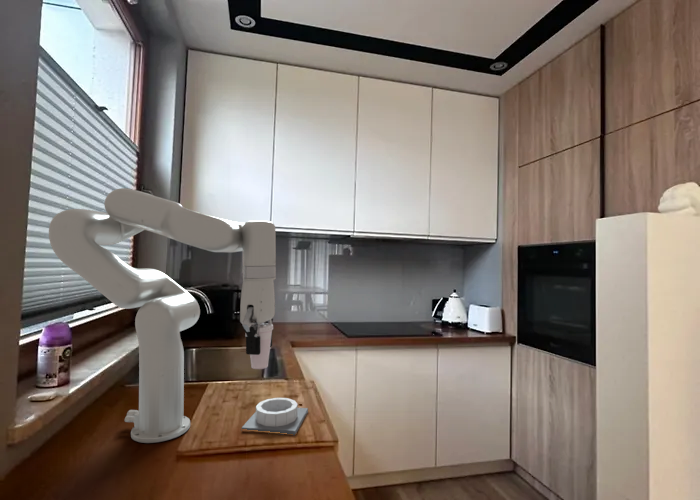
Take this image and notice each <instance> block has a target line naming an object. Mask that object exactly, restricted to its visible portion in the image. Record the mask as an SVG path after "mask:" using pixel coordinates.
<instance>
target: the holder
mask: <svg viewBox="0 0 700 500" xmlns="http://www.w3.org/2000/svg"><path fill="white" fill-rule="evenodd" d="M308 413H309V408H308V407H298V402H296V400H295V399H291V398H287V397H273V398H267V399H264V400H261V401H260V402H258V403H257V405H256V406H255V412H254V413H253V414H252V415H251V416H250V417H249V418H248V420H247V421H246V422H245V423H244V424H243V425H242V426H241V430H242V429H247V430H258V431H270V432H280V433H287V434H293V435H292V436H296V435H295V434H297V433H298V431H299V430H300V427H301V426H302V424H303V421H304V420H305V419H306V417H307V414H308Z"/></svg>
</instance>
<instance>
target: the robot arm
mask: <svg viewBox="0 0 700 500" xmlns="http://www.w3.org/2000/svg"><path fill="white" fill-rule="evenodd" d="M104 209H105V211H106V212H104V211H97V210H91V209H84V208H71V209H66V210H62V211H60V212H58V213H57V214H55V216H53V217H52V219H51V221H50V223H49V227H48V239H49V243H50V246H51V249H52V250H53V252H54V254H55V256H56V257H57V258H58V259H59V260H60V261H61V262H62V263H63V264H64V265H65V266H66V267H68V268H69V269H71V270H72V271H73V272H75V273H76V274H77V275H78V276H79V277H81V278H83V280H85V281H86V282H88V283H89V285H90V286H92V287H93V288H94V289H95V290H96V291H98V292H99V293H100V294H102V295H103V296H104V297H105V298H107V299H108V300H109V301H110V302H112V303H113V304H114V305H115V306H117V307H118V308H121V309H124V310H125V309H128V310H129V309H135V308H139V309H138V311H137V313H136V316H135V319H134V321H135V322H134V326H135V332H136V337H137V342H138V354H139V355H138V356H139V357H138V361H139V362H138V363H139V364H138V367H139V371H138V374H139V376H138V379H139V381H138V383H139V385H138V410H137V409H129V410H128V411H127V413H126V416H125V418H124V422H125V423H133V425H134V427H133V426H132V429H131V431H130V437H131V439H132V440H133V441H135V442H138V443H144V444H154V443H161V442H166V441H169V440H173V439H176V438H178V437H180V436H181V435H184V434H185V433H187V431H188V430H190V427H191V420H190V418H189V417H187V416H186V415H184V404H185V403H184V401H185V398H184V397H185V395H184V394H185V392H184V391H185V390H184V389H185V388H184V386H185V379H184V378H185V374H184V373H185V370H184V369H185V351H184V346H183V341H182V339H181V338H182V337H181V332H182V331H185V330H187V329H189V328H191V327H193V326H194V325H195V324H197V322H198V320H199V318H200V315H201V309H200V305H199V303H198V300H197V299H196V298H195V297H194V296H193V295H192V294H191V293H190V292H188V291H187V290H186V289H185V288H183V286H181V285H180V284H178V283H177V282H176V281H175V280H173V279H172V278H171V277H170V276H168V275H167V274H165V273H164V272H163V271H161V270H158V269H156V268H149V267H147V268H145V267H144V268H143V267H142V268H137V267H133V266H131V265H129V264H128V263H126V262H125V261H124V260H122V259H121V258H120V257H119V256H118V255H116V254H115V253H114V252H112V251H111V250H109V249H106V248H105V247H104V246H112V245H116V244H119V243H122V242H124V241H125V240H127V239H129V238H131V237H134V236H135V235H137V234H139V233H141V232H144V231H148V232H151V233H153V234H157V235H160V236H163V237H166V238H167V239H172V240H173V241H176V242H179V243H182V244H184V245H188V246H191V247H195V248H198V249H201V250H205V251H207V252H212V253H237V252H242V285H241V291H240V292H241V293H240V306H239V307H240V310H239V311H240V313H239V322H240V323H241V324H242V327H243V331H244V333H245V335H244V336H245V354H246V355H249V356H250V355H259V354H260V336H259V330H260V324H262V323H270V324H273V322H274V317H275V315H276V314H275V313H276V302H275V301H276V300H275V299H276V297H275V284H274V283H275V282H274V281H275V280H276V277H277V275H276V273H277V272H276V271H277V268H276V265H277V264H276V262H277V261H276V260H277V259H276V258H277V257H276V255H277V253H276V251H277V250H276V231H277V230H276V225H275V224H274V222H272V221H268V220H248V221H246V222H238V221H234V220H233V221H232V220H228V219H226V218H219V217H216V216H212V215H209V214H205V213H202V212H199V211H195V210H192V209H188V208H186V207H184V206H183V205H182V204H181V203H179V202H176V201H173V200H170V199H167V198H164V197H159V196H156V195H153V194H151V193H148V192H143V191H140V190H137V189H133V188H126V187H124V188H117V189H114V190H112V191H111V192H109V193H108V194H107V196H106V197H105V199H104ZM253 326H256V328H255V329H254V327H253ZM272 346H273V334H272V335H271V343H270V348H271V347H272Z"/></svg>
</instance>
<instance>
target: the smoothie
mask: <svg viewBox="0 0 700 500" xmlns="http://www.w3.org/2000/svg"><path fill="white" fill-rule="evenodd" d="M253 327H254V329H255V328H256V326H253ZM273 330H274V324H273V323H272V324H270V323H262V324H260V330H259V336H260V354H259V355H249V356H250V358H249V359H250V365H251V369H253V370H263V369H266V368H268V367H269V359H270V350H271V347H270V343H271V335H272V336H273Z"/></svg>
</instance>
